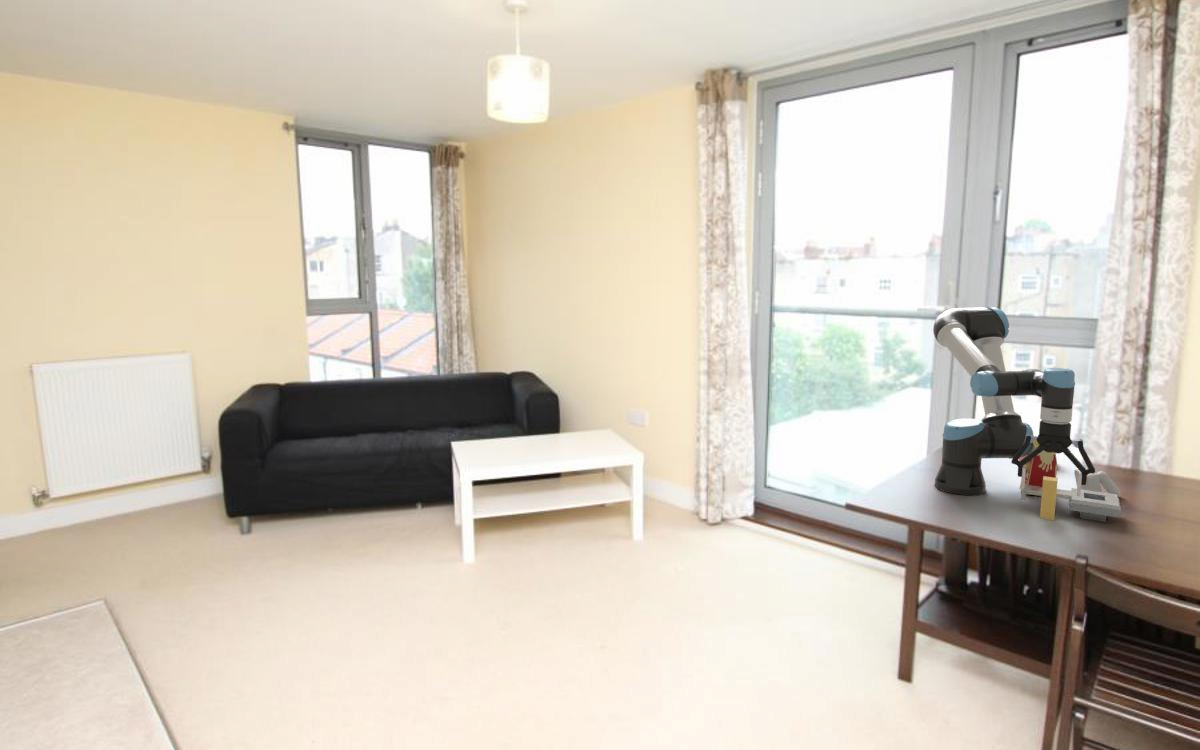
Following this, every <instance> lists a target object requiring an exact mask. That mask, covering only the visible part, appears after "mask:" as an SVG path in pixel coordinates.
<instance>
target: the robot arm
mask: <svg viewBox="0 0 1200 750" xmlns="http://www.w3.org/2000/svg"><path fill="white" fill-rule="evenodd" d="M1009 328H1010V323H1009V318H1008V316H1007V315H1006V313H1005V312H1004V311H1003V310H1002V309H1000V308H999V307H989V306H983V307H958V308H957V307H955V308H950V309H947V310H945V311H944V312H941V314H940V315H939V316H938V317H937V318H936V319H935V321H934V324H933V329H932V330H933V336H934V338H935V340H936V342H937V343H938V344H939V345H940V346H942V347H944V348H947V350H948V351H949V352H950V353H951V355H953V357H954V359H956V360H957V362H958V363H959V364H960V365H961V366H962V368H963V369H964V370H965V371H966V373H968V375H969V376H970V382H969V385H970V389H971V392H972V394H974V395H975V396H978V397H981V400H982V406H983V411H984V416H983V418H982V419H978V418H956V419H952V420H949V421H948V422H946V424H945V425H944V427H943V433H942V451H941V452H942V454H941V464H940V467H939V469H938V471H937V474H936V476H935V478H934V486H935V488H937V487H938V488H939V489H938V488H937V489H938V490H940V489H942V490H941V491H943V490H944V491H943V492H945V491H947V492H946V493H949V492H951V493H950V494H954V493H955V494H954V495H960V494H962V495H963V496H978V495H982V494H985V492H986V491H987V489H986V485H987V484H986V480H985V477H984V474H983V471H982V459H1011V464H1013V465H1015V466H1017V477H1019V478H1021V479H1022V483H1021V482H1020V484H1021V488H1022V489H1024V487H1025V474H1026V466H1025V464H1026V463H1027V462H1029V461H1030V460H1031V459H1033V458H1034V457H1035V456H1036V455H1038V454H1039V453H1041V452H1042V451H1043V450H1044V451H1046V452H1049V453H1051V452H1054V453H1056V454H1062V453H1063V454H1064V455H1065V456H1066V457H1067V458H1068V460H1070V462H1071V463H1072V464H1073V465H1074V466H1075V467H1076V468H1077V469H1079V470H1080V472H1079V474H1078V486H1077V485H1076V489H1077V496H1079V497H1080V493H1081V485H1086V481H1087V475H1088V474H1091V473H1092V474H1094V473H1096V468H1095V467H1094V465H1093V462H1092V460H1091V459H1090V457H1089V455H1088V453H1087V451H1086V449H1085V447H1084V441H1083V439H1082V438H1079V439H1071V430H1072V423H1071V422H1072V421H1073V419H1072V417H1073V404H1074V395H1075V386H1076V381H1075V376H1076V375H1075V371H1074V370H1072V369H1070V368H1064V367H1049V368H1048V367H1047V368H1045V369H1044V370H1043V371H1042V370H1039V369H1036V368H1025V369H1023V370H1014V371H1013V370H1010V371H1007V370H1006V366H1005V360H1004V357H1003V353H1002V352H1003V351H1002V345H1003V344H1004V343H1005V339H1006V338H1007V336H1008V335H1009V332H1010V330H1009ZM1013 396H1017V397H1018V396H1036V397H1039V398H1041V399H1040V400H1041V403H1040V404H1041V405H1040V417H1039V419H1040V421H1039V429H1038V436H1036V435H1034V431H1033V428H1032V426H1031V425H1030V424H1029V423H1028V422H1023V421H1022V416H1021V415H1020V414H1019V413H1018V412H1015V408H1014V404H1013V399H1012V398H1013ZM1035 440H1037V442H1038V443H1039V446H1038V447H1037V448H1036V449H1035V450H1033V451H1032V452H1031V453H1030V454H1028V453H1029V452H1030V450H1031V448H1032V445H1033V442H1034V441H1035ZM1072 445H1073V446H1074V447H1075V448H1078V451H1079V453H1080V455H1081V458H1082V459H1083V462H1084V463H1085V465H1086V467H1085V466H1084V464H1083V463H1081V462H1080V460H1079V459H1078V458H1077V457H1076V456H1075V455H1074V454H1073V452H1072V451H1071V450H1070V449H1069V447H1070V446H1072ZM1027 454H1028V455H1027ZM1026 455H1027V456H1026ZM1024 456H1026V457H1025V458H1023V459H1022V460H1021V461H1020V460H1019V458H1021V457H1024ZM1086 468H1087V469H1086ZM962 495H961V496H962Z"/></svg>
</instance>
